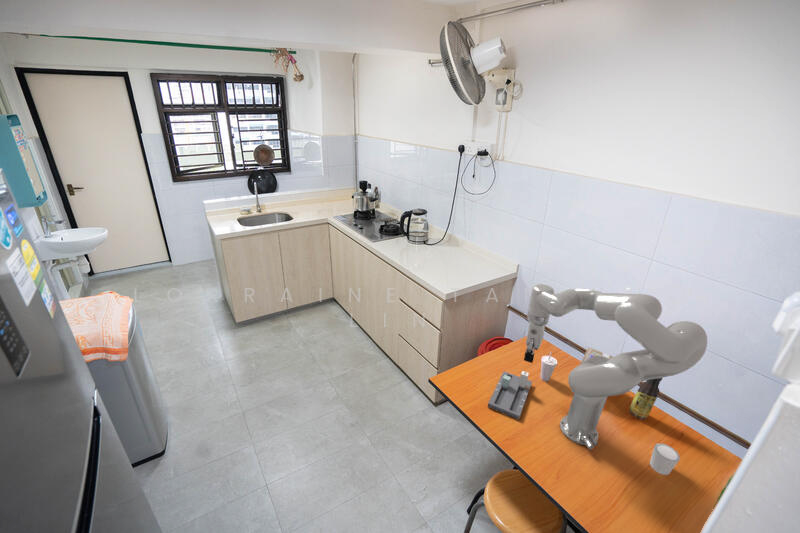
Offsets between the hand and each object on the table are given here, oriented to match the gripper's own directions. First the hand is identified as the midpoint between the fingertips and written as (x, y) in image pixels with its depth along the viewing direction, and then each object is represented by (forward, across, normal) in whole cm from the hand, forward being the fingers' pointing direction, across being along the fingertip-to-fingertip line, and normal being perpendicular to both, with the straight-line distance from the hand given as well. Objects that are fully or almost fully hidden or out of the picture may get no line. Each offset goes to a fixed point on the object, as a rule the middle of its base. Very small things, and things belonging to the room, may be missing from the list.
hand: (530, 354), depth 142 cm
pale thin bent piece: (+19, +18, -23) cm, 34 cm away
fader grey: (+17, 0, +1) cm, 17 cm away
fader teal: (+17, -3, +7) cm, 18 cm away
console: (+18, -5, +4) cm, 19 cm away
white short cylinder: (+20, -11, -47) cm, 52 cm away
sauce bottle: (+20, +12, -41) cm, 47 cm away
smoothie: (+18, +14, -6) cm, 24 cm away
